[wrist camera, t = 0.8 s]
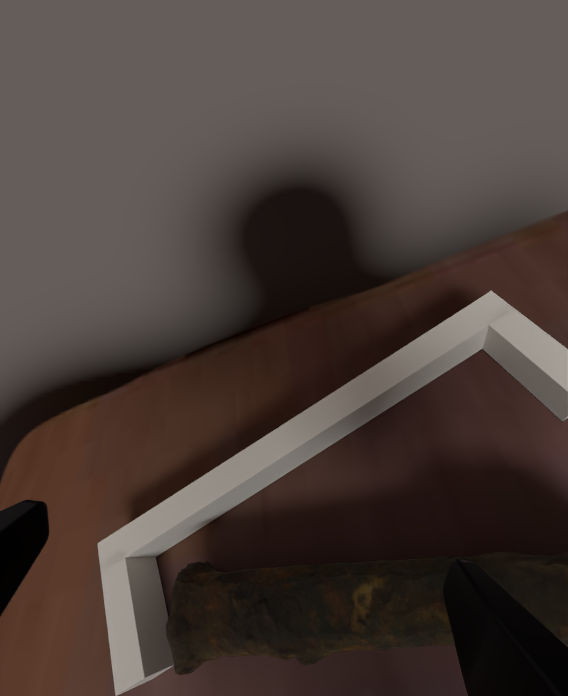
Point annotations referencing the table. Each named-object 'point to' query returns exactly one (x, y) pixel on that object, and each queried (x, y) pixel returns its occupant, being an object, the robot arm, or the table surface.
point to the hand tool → (342, 606)
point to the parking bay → (294, 449)
